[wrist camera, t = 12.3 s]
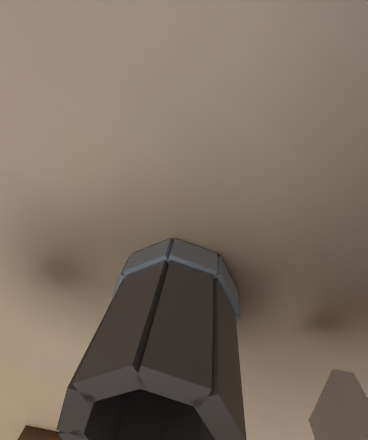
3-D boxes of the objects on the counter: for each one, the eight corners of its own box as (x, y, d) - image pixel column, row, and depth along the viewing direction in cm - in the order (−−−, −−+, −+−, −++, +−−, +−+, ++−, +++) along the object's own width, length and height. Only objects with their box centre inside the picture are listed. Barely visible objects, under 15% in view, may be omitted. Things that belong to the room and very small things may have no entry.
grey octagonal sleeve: (204, 224, 14) (194, 339, 7) (251, 317, 15) (276, 479, 9) (101, 266, 15) (15, 394, 9) (154, 347, 17) (115, 506, 10)
